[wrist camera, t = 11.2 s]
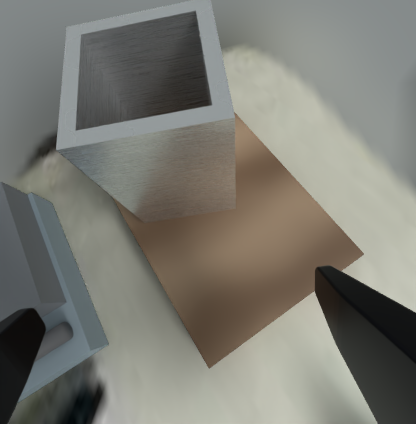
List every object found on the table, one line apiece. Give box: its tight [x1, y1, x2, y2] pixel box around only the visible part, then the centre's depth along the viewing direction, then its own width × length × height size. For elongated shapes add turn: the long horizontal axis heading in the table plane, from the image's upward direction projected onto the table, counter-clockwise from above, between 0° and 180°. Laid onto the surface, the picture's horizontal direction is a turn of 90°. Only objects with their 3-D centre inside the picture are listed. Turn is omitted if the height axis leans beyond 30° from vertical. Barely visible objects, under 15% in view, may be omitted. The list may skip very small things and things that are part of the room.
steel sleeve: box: [56, 0, 236, 223], centre depth 12 cm, size 6×6×8 cm
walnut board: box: [112, 112, 364, 368], centre depth 16 cm, size 14×10×2 cm
